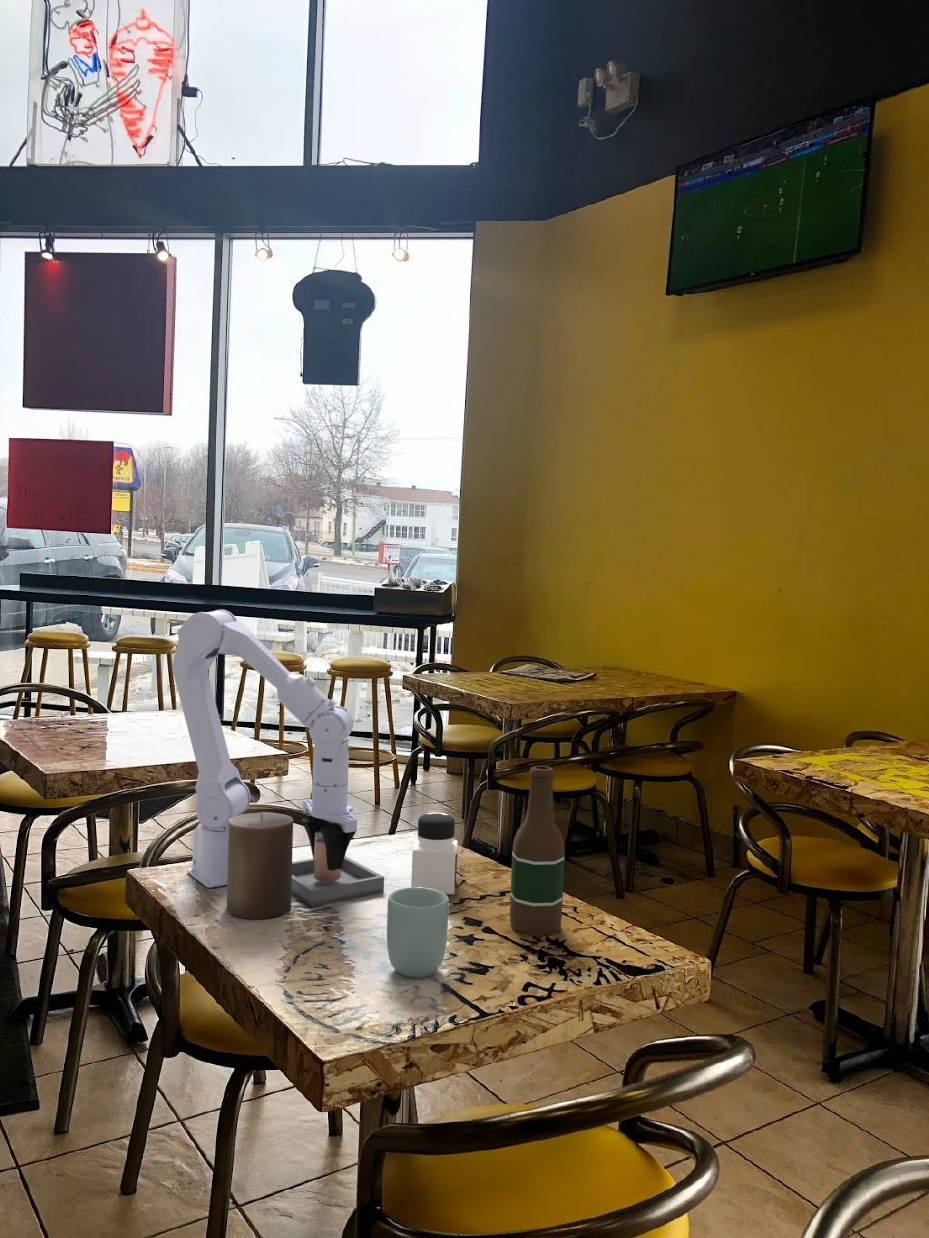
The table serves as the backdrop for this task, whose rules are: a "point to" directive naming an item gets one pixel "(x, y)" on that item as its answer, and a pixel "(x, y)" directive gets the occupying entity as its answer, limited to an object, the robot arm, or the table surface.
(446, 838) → the medicine bottle
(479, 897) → the table surface
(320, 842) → the salt shaker
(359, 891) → the tray
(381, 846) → the table surface
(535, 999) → the table surface
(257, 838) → the pillar candle
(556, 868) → the beer bottle
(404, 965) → the cup
